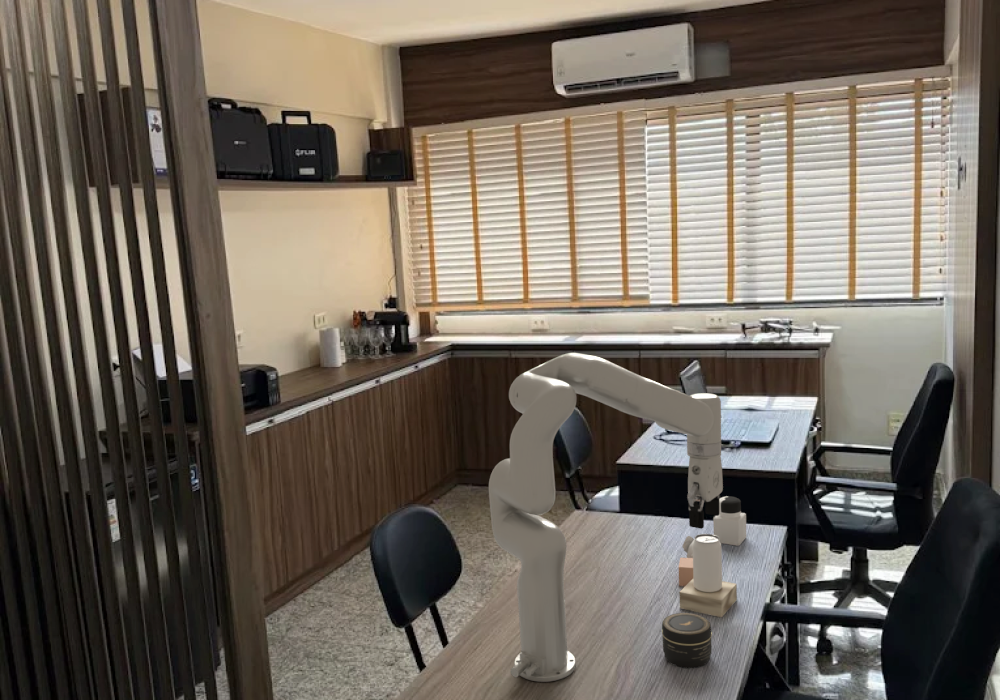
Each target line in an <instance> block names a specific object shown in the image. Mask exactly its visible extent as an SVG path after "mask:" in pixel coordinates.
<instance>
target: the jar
mask: <svg viewBox="0 0 1000 700" xmlns="http://www.w3.org/2000/svg"><path fill="white" fill-rule="evenodd" d="M661 635H662V650H663V655H664V657H665V659H666V660H667V661H668V662H669V663H670V664H672V665H673V666H676V667H679V668H683V669H696V668H700V667H703V666H705V665H706V664H707V663H708V662H709V661H710V659H711V656H712V650H713V649H712V647H713V646H712V636H713V632H712V625H711V622H710V620H708V619H707V618H706V617H705V616H703V615H700V614H696V613H691V612H677V613H673V614H670V615H668V616H666V617H665V618H664V619H663V620H662V623H661Z"/></svg>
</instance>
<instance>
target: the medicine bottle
mask: <svg viewBox="0 0 1000 700" xmlns="http://www.w3.org/2000/svg"><path fill="white" fill-rule="evenodd" d="M718 499H719V515H718V516H715V515H714V516H713V518H712V521H713V524H712V525H713V535H716V536H718V537H719V541H720V543H721V545H723V544H724V545H729V546H730V545H731V546H737V547H739V546H740V545H741V544H742V543H743V542H744V540H746V538H747V513H745V512H742V505H741V504H742V501H741V499H740V498H737V497H736V496H729V495H728V496H727V495H726V496H722V497H719V498H718Z"/></svg>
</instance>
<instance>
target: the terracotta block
mask: <svg viewBox="0 0 1000 700" xmlns="http://www.w3.org/2000/svg"><path fill="white" fill-rule="evenodd" d="M692 579H693V558H687V557H680V558H679V563H678V586H680V587H685V586H686V585H687V584H688V583H689V582H690V581H691V580H692Z"/></svg>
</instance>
